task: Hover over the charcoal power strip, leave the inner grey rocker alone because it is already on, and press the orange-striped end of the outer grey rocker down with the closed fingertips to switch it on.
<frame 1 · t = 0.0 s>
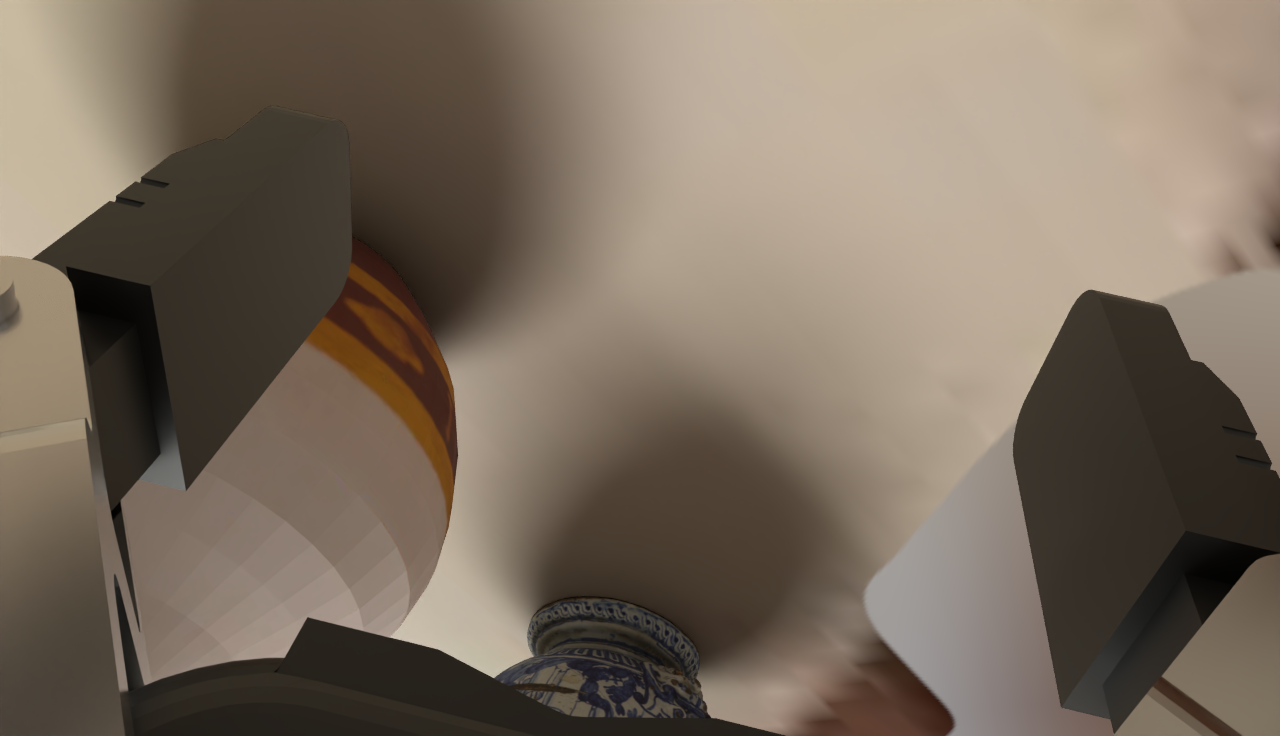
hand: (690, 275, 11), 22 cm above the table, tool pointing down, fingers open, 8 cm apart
decorative vase: (613, 642, 61), on the table
jug: (320, 278, 44), on the table
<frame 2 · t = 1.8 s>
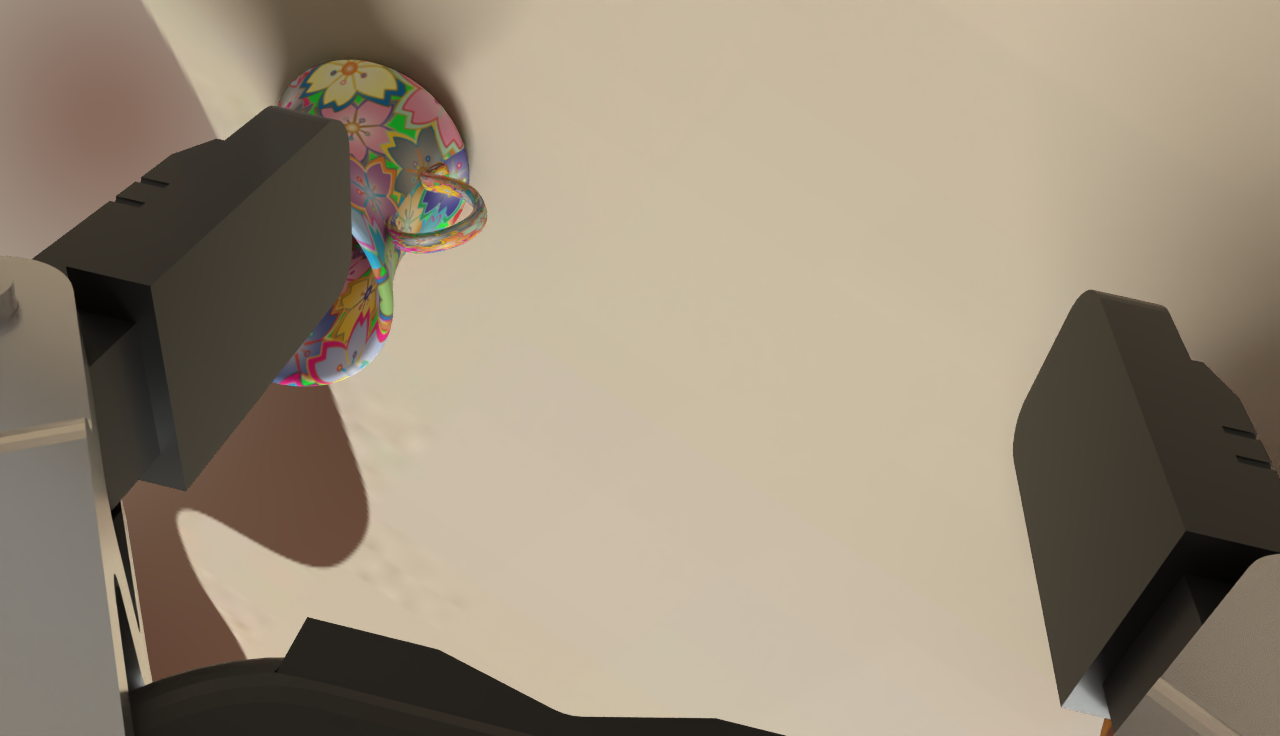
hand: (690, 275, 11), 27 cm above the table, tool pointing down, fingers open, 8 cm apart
mug: (410, 144, 42), on the table
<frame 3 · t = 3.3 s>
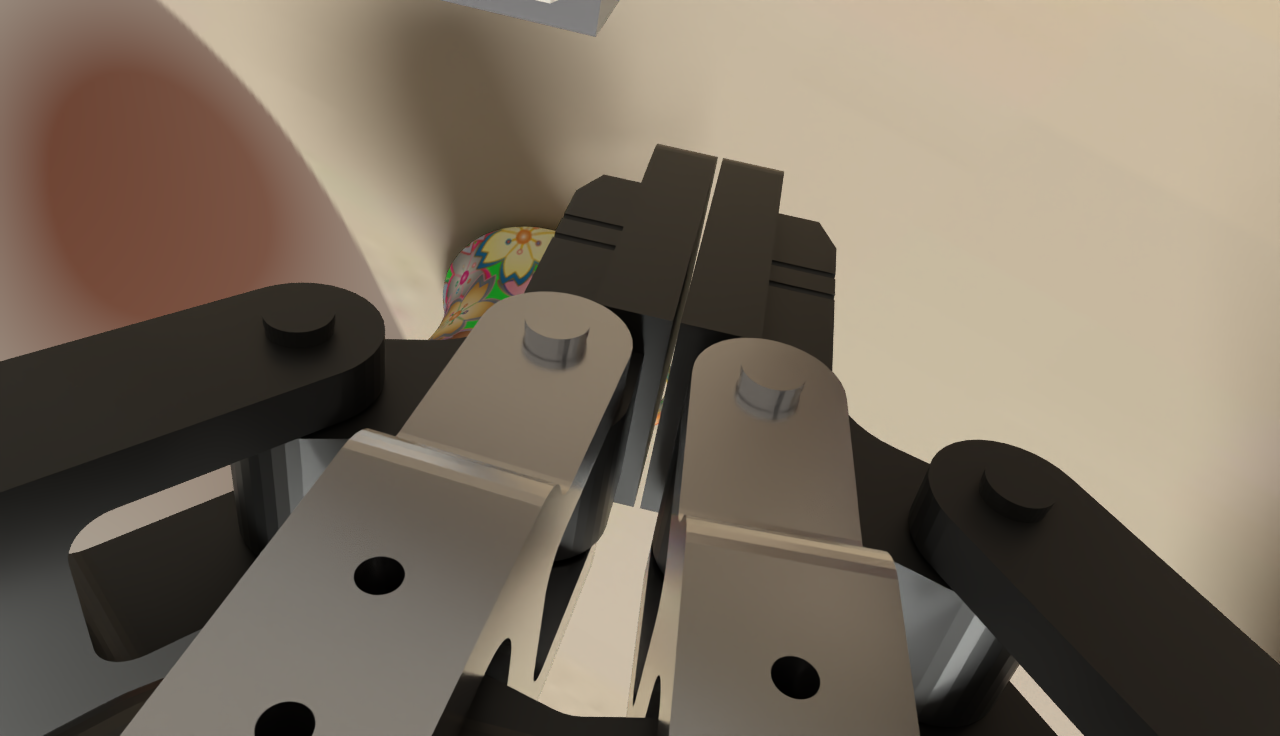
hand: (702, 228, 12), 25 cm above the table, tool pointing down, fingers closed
mug: (574, 296, 43), on the table
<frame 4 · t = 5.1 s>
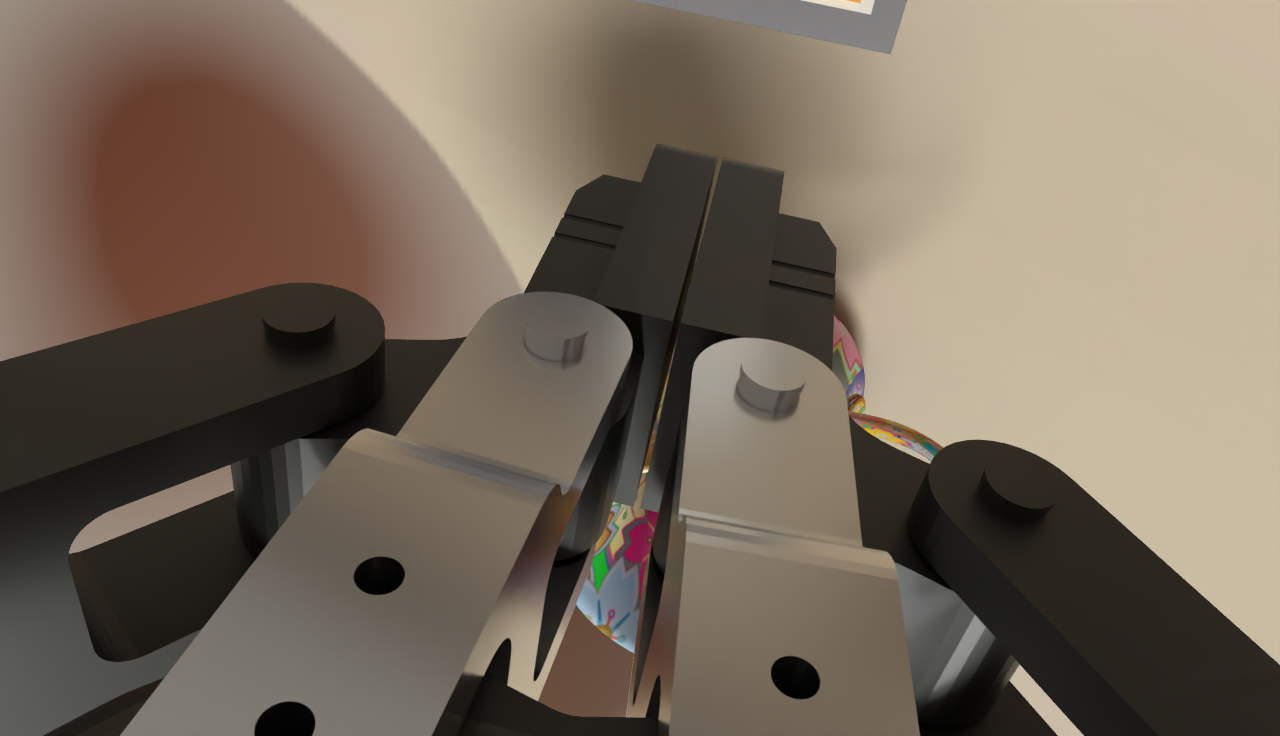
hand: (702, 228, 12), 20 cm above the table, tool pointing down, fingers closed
mug: (784, 356, 37), on the table
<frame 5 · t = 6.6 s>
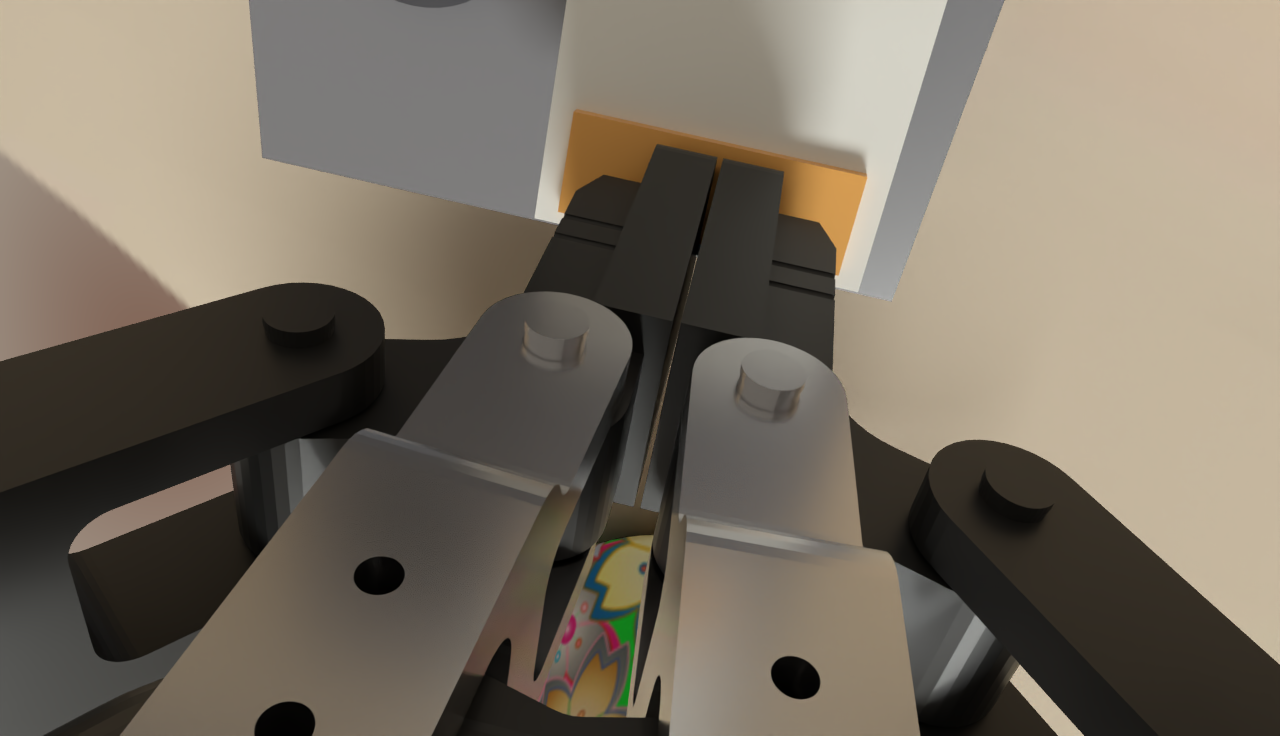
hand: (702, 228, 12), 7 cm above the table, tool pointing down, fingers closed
mug: (737, 618, 26), on the table
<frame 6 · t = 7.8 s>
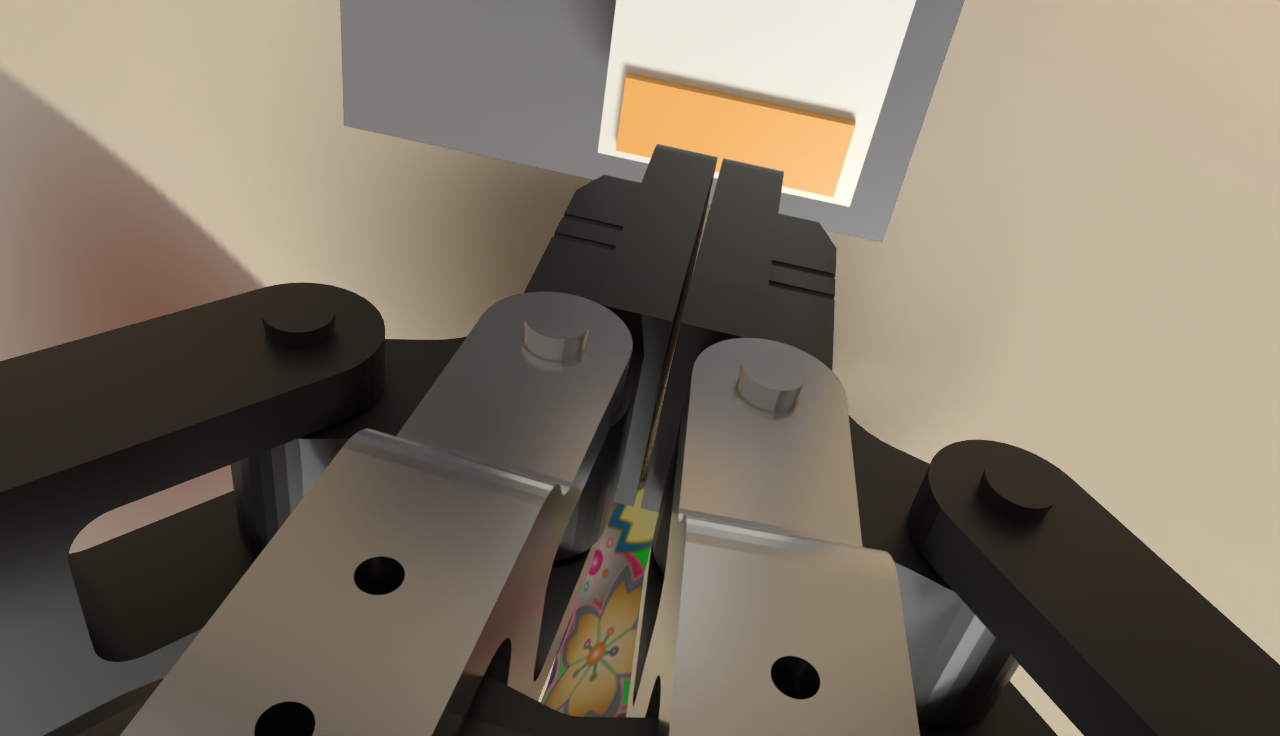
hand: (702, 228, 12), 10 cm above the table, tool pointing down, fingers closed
mug: (746, 559, 29), on the table
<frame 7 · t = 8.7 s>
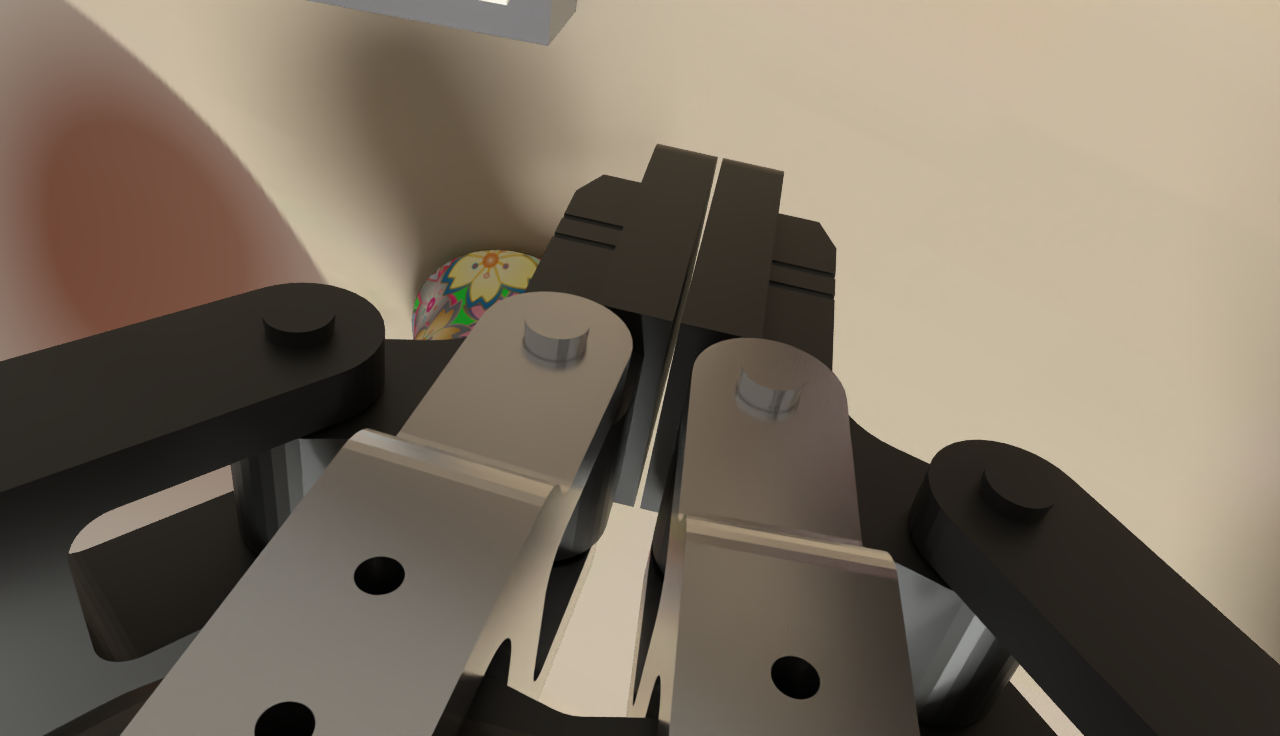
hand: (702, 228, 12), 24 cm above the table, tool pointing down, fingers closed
mug: (547, 321, 42), on the table
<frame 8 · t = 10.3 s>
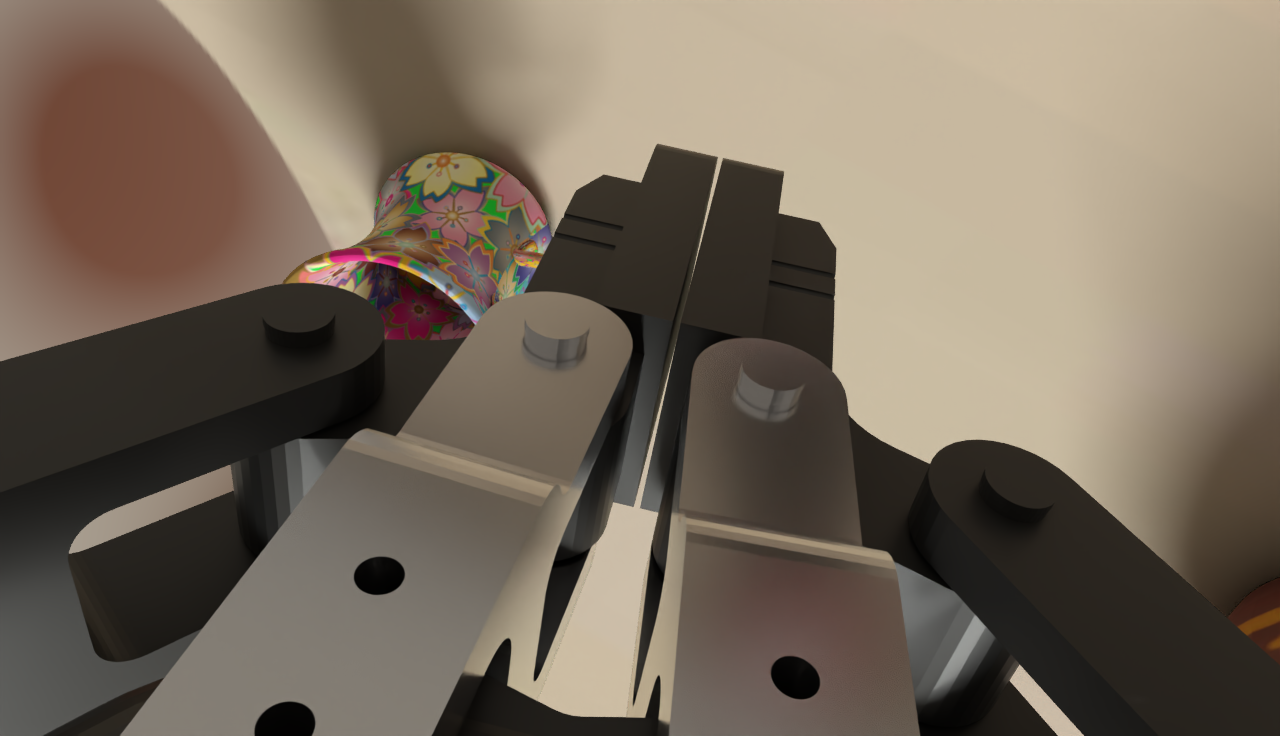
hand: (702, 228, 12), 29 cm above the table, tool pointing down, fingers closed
mug: (497, 222, 46), on the table
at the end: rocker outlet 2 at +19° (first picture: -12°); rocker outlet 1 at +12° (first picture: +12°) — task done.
